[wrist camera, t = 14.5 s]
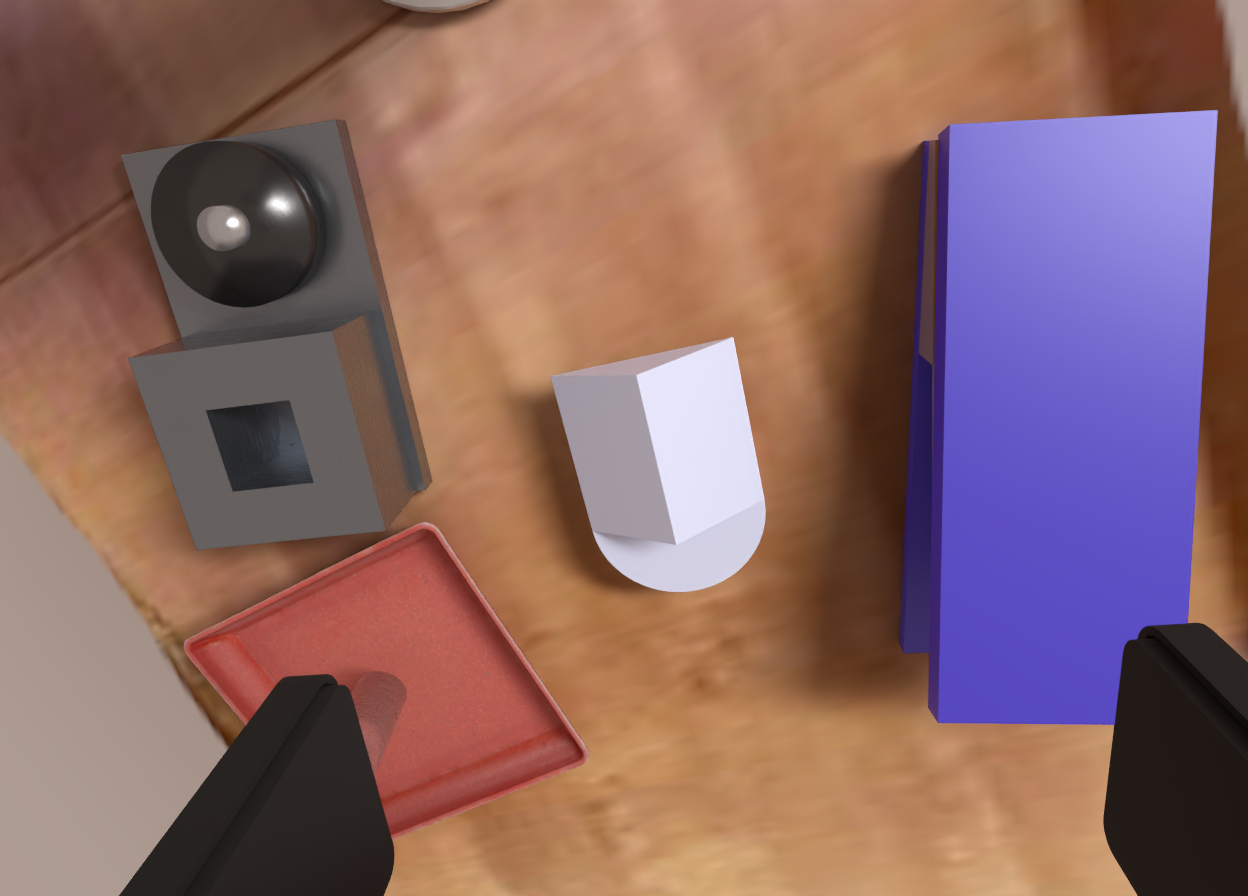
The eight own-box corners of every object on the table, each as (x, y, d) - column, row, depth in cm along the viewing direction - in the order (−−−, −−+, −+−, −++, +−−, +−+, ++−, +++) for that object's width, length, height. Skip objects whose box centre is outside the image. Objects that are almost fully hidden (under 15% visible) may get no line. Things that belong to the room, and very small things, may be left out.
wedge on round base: (560, 359, 42) (617, 573, 47) (538, 395, 36) (606, 639, 40) (729, 322, 41) (772, 546, 45) (737, 353, 35) (786, 610, 39)
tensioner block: (136, 154, 40) (44, 155, 34) (345, 120, 39) (286, 115, 33) (249, 501, 47) (187, 550, 41) (432, 481, 45) (395, 529, 40)
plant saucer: (600, 726, 51) (595, 763, 48) (371, 819, 55) (352, 859, 52) (446, 492, 46) (429, 517, 43) (206, 613, 50) (175, 643, 47)
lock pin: (346, 673, 46) (236, 883, 35) (399, 666, 46) (306, 877, 34) (364, 715, 48) (264, 931, 36) (415, 709, 47) (331, 926, 35)
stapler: (886, 640, 47) (936, 759, 38) (908, 128, 38) (980, 121, 29) (1092, 635, 46) (1193, 756, 37) (1167, 107, 37) (1329, 93, 27)
